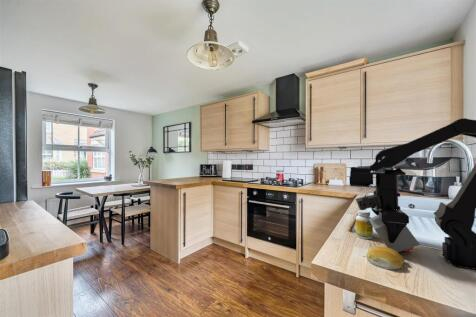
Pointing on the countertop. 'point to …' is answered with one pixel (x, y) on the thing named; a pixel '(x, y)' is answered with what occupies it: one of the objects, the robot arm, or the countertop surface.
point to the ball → (409, 249)
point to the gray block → (402, 241)
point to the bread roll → (385, 258)
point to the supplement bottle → (364, 225)
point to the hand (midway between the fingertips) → (387, 237)
